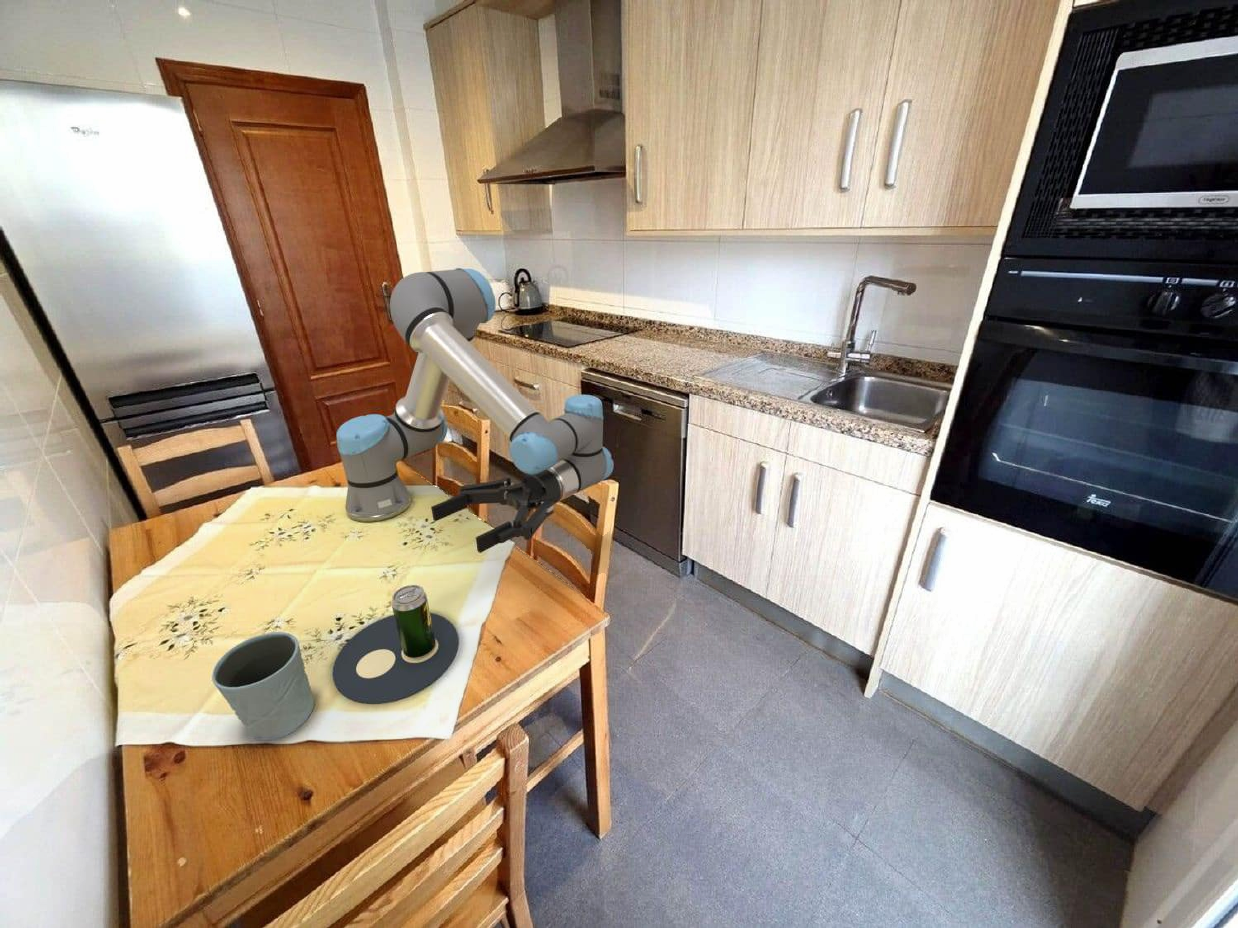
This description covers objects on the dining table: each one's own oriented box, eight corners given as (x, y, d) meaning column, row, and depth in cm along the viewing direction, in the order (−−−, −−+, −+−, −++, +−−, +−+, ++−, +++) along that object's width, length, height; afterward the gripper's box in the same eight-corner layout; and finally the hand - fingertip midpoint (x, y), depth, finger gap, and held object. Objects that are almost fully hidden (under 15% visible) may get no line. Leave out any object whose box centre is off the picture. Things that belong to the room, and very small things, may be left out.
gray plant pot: (333, 701, 78) (314, 644, 72) (269, 759, 69) (242, 699, 64) (289, 679, 81) (267, 623, 76) (223, 731, 73) (194, 672, 68)
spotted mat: (332, 634, 90) (332, 632, 90) (447, 600, 99) (446, 598, 98) (333, 723, 74) (332, 722, 74) (469, 674, 83) (469, 672, 82)
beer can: (407, 665, 84) (394, 610, 78) (400, 645, 88) (387, 591, 82) (440, 652, 86) (429, 598, 81) (431, 632, 90) (421, 579, 85)
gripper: (595, 525, 93) (501, 579, 79) (512, 481, 108) (420, 520, 94) (595, 490, 90) (497, 539, 76) (509, 449, 105) (413, 484, 90)
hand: (454, 529), depth 85 cm, fingers open, 13 cm apart
